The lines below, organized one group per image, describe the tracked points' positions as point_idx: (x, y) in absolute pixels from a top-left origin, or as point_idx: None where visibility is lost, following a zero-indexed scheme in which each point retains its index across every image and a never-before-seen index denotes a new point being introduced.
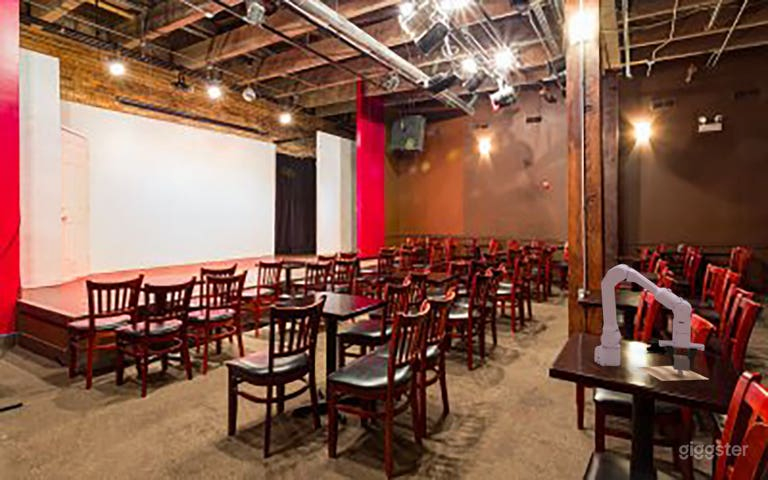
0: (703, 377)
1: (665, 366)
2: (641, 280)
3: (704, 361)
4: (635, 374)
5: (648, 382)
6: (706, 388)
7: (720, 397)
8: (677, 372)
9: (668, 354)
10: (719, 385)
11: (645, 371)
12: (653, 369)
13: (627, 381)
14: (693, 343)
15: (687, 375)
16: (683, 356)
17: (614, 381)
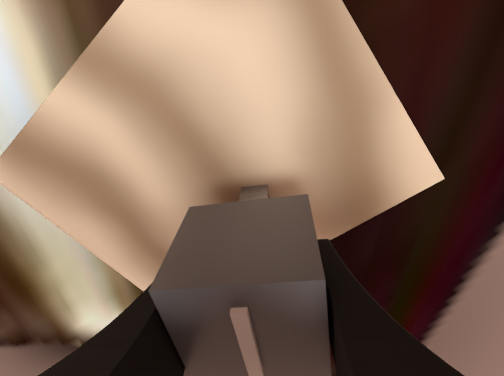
0: (414, 162)
1: (132, 6)
2: None
3: None
4: (41, 229)
5: (132, 302)
6: (383, 263)
7: (412, 334)
8: (240, 199)
9: (118, 325)
10: (486, 180)
11: (68, 230)
12: (87, 162)
13: (64, 324)
14: None
15: (306, 176)
16: (278, 311)
17: (31, 341)
